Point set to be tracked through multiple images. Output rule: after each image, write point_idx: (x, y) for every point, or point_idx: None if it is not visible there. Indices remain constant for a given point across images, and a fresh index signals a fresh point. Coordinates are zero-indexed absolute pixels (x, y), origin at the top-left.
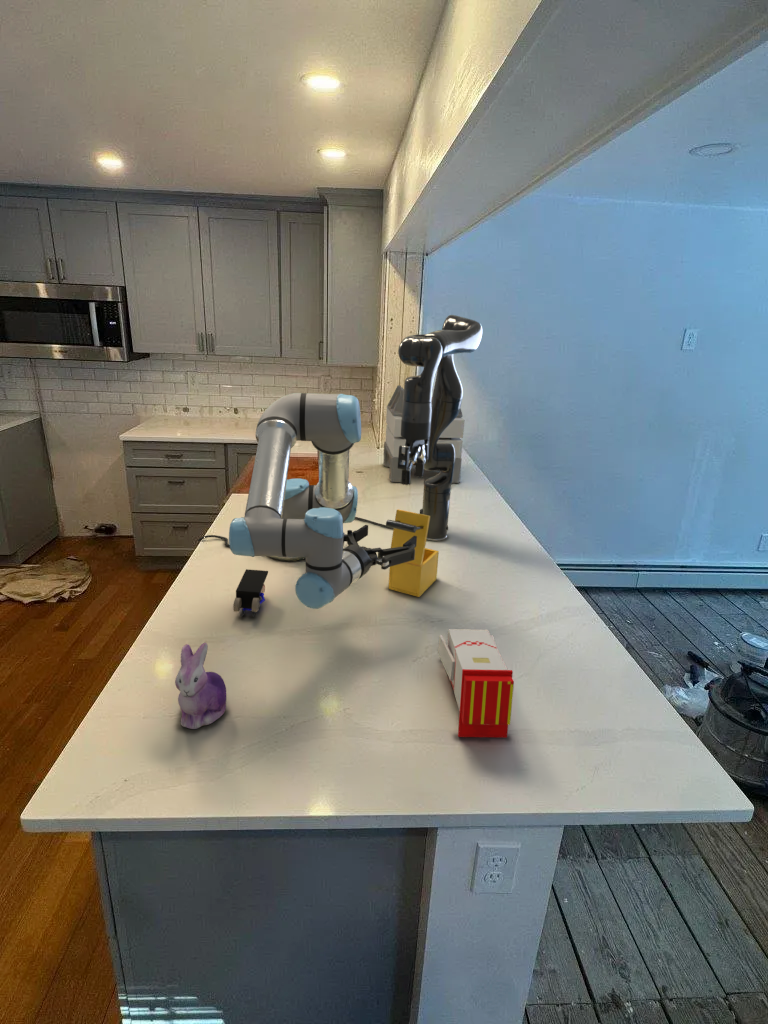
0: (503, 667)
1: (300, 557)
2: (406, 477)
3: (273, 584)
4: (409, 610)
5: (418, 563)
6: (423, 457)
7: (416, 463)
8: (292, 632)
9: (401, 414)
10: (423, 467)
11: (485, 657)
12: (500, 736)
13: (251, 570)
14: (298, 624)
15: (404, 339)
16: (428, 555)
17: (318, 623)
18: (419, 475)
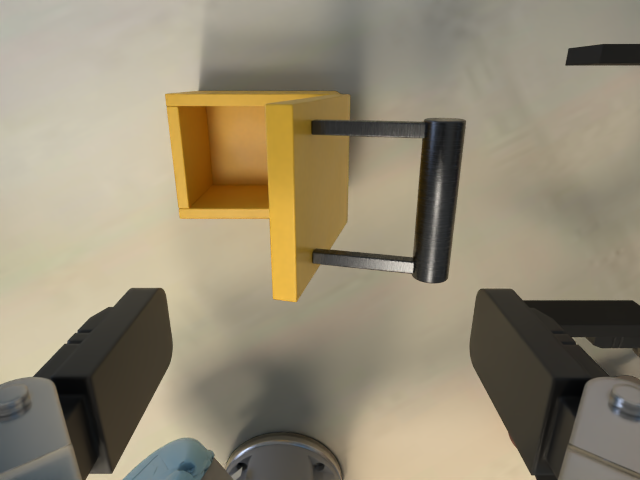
0: None
1: (312, 443)
2: (577, 349)
3: (450, 419)
4: (422, 83)
5: (349, 104)
6: (75, 464)
7: (111, 458)
8: (633, 279)
9: None
10: (91, 343)
11: None
12: None
13: (540, 477)
14: (596, 286)
15: None
16: (187, 130)
17: (577, 253)
18: (162, 319)
